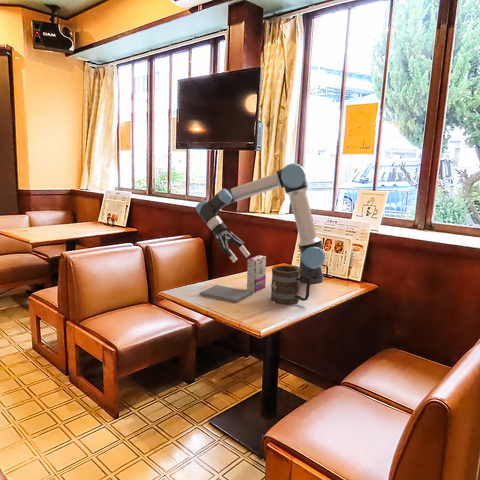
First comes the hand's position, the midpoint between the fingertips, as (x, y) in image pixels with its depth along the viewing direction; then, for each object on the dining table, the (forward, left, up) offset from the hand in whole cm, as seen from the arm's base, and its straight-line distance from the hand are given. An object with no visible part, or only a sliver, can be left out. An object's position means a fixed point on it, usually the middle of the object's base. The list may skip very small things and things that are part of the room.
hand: (242, 258), depth 206 cm
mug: (-30, +9, -15) cm, 35 cm away
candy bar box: (-8, 0, -15) cm, 17 cm away
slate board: (0, +16, -15) cm, 22 cm away
